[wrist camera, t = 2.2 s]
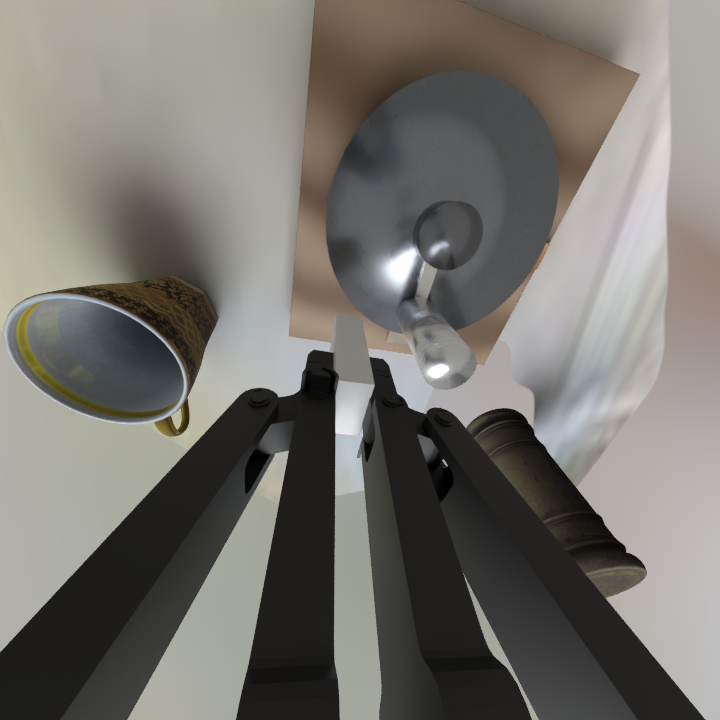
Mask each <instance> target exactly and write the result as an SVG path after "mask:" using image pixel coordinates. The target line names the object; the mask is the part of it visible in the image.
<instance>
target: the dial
mask: <svg viewBox="0 0 720 720" xmlns="http://www.w3.org/2000/svg"><path fill="white" fill-rule="evenodd" d="M558 193H559V169H558V160H557V154H556V150H555V146H554V142H553V138H552V136H551V133H550V131H549V129H548V126H547V124H546V122H545V120H544V118H543V117H542V115H541V114H540V112H539V110H538V109H537V107H536V106H535V105H534V104H533V103H532V102H531V101H530V99H529V98H528V97H527V96H526V95H525V94H524V93H523V92H521V91H520V90H519V89H517V88H516V87H515V86H513V85H512V84H511V83H509V82H506V81H504V80H502V79H500V78H498V77H496V76H494V75H490V74H486V73H482V72H478V71H462V70H456V71H449V72H442V73H437V74H434V75H431V76H428V77H425V78H422V79H419V80H417V81H415V82H413V83H411V84H409V85H407V86H405V87H403V88H402V89H400V90H399V91H397V92H396V93H395V94H393V95H392V96H390V97H389V98H388V99H386V100H385V101H384V102H383V103H382V104H381V105H380V106H378V107H377V108H376V109H375V110H374V111H373V112H372V113H371V114H370V115H369V116H368V117H367V119H366V120H365V121H364V123H363V124H362V125H361V126H360V128H359V129H358V130H357V132H356V133H355V134H354V136H353V138H352V139H351V141H350V143H349V144H348V146H347V148H346V149H345V151H344V153H343V156H342V158H341V160H340V162H339V164H338V167H337V169H336V172H335V175H334V178H333V182H332V185H331V188H330V193H329V198H328V204H327V213H326V241H327V248H328V253H329V259H330V262H331V265H332V268H333V272H334V274H335V276H336V279H337V281H338V283H339V285H340V287H341V289H342V290H343V292H344V294H345V295H346V297H347V298H348V299H349V301H350V302H351V303H352V304H353V305H354V307H355V308H356V309H357V310H358V311H359V312H361V313H362V314H363V315H364V316H365V317H366V318H368V319H369V320H371V321H372V322H373V323H375V324H377V325H379V326H381V327H383V328H385V329H387V330H390V331H393V332H395V333H400V334H404V336H405V338H406V341H407V343H408V345H409V347H410V349H411V351H412V353H413V355H414V357H415V360H416V362H417V364H418V366H419V368H420V370H421V372H422V374H423V376H424V379H425V380H426V382H427V383H428V384H429V385H430V386H432V387H434V388H437V389H452V388H455V387H458V386H460V385H462V384H463V383H464V382H466V381H467V380H468V379H469V378H470V377H471V376H472V375H473V373H474V371H475V369H476V364H477V360H476V356H475V354H474V352H473V351H472V350H471V349H470V348H469V347H468V345H467V344H466V343H465V342H464V341H463V340H462V338H461V337H460V336H459V335H458V334H457V333H456V331H457V330H459V329H462V328H465V327H467V326H469V325H471V324H473V323H475V322H477V321H479V320H481V319H482V318H484V317H486V316H487V315H489V314H490V313H492V312H493V311H494V310H495V309H497V308H498V307H499V306H501V305H502V304H503V303H504V302H505V301H506V300H507V299H508V298H509V297H510V296H511V295H512V294H513V293H514V292H515V291H516V290H517V289H518V288H519V286H520V285H521V284H522V283H523V282H524V280H525V279H526V277H527V276H528V275H529V273H530V272H531V271H532V269H533V267H534V265H535V264H536V262H537V260H538V259H539V257H540V255H541V253H542V251H543V249H544V246H545V244H546V242H547V239H548V237H549V234H550V231H551V228H552V225H553V221H554V217H555V213H556V208H557V201H558Z"/></svg>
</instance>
